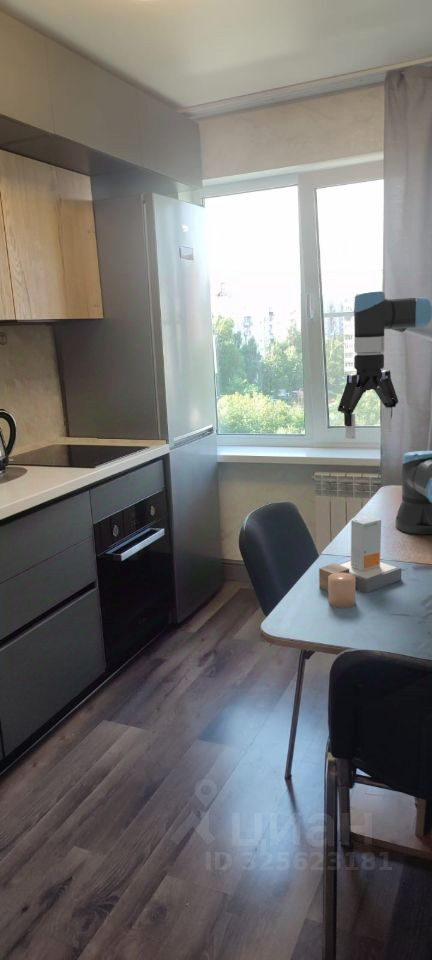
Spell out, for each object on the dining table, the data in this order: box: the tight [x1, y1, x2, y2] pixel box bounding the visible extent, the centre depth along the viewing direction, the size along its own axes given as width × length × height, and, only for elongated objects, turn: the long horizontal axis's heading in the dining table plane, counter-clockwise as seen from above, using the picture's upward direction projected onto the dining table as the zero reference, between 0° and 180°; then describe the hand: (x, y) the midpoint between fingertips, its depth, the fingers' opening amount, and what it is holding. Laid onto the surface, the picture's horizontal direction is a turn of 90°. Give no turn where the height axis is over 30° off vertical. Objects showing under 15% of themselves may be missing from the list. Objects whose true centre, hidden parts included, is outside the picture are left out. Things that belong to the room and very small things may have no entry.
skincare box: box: [350, 515, 382, 571], centre depth 163 cm, size 6×4×12 cm
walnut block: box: [318, 562, 349, 592], centre depth 160 cm, size 5×5×5 cm
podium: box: [337, 559, 402, 594], centre depth 164 cm, size 12×12×3 cm
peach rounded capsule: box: [327, 573, 356, 609], centre depth 152 cm, size 6×6×6 cm
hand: (368, 434), depth 179 cm, fingers open, 13 cm apart
